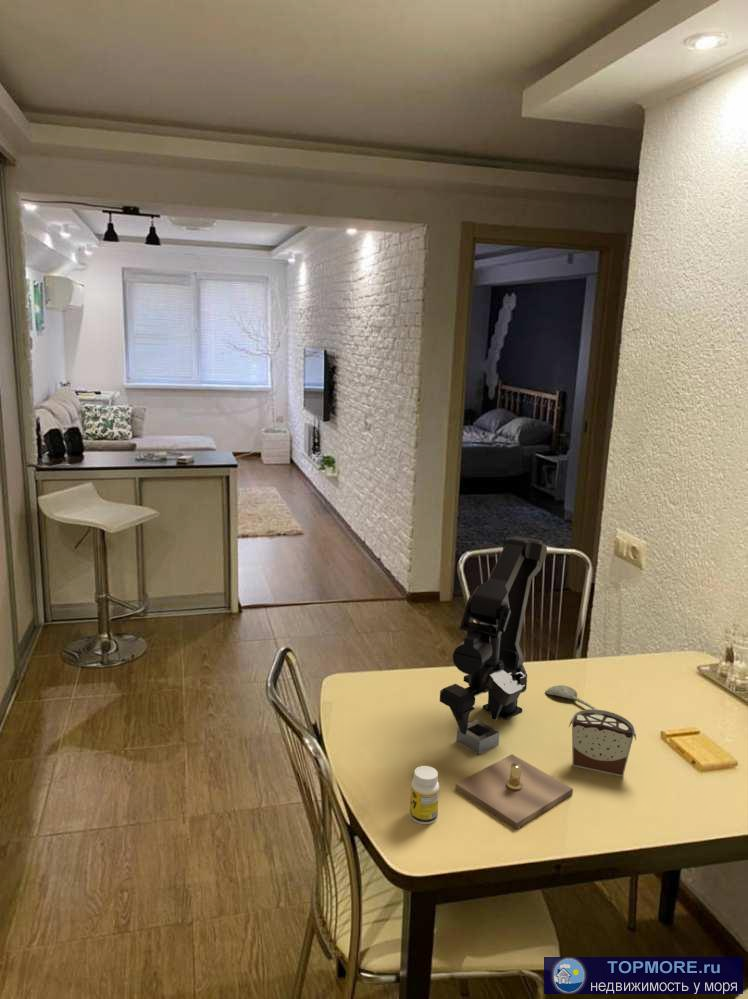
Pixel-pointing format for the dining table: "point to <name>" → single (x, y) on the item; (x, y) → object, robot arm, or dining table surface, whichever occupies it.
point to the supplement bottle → (424, 795)
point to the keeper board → (510, 804)
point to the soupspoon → (566, 693)
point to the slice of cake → (601, 741)
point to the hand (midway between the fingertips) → (478, 726)
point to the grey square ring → (478, 737)
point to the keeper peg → (515, 777)
